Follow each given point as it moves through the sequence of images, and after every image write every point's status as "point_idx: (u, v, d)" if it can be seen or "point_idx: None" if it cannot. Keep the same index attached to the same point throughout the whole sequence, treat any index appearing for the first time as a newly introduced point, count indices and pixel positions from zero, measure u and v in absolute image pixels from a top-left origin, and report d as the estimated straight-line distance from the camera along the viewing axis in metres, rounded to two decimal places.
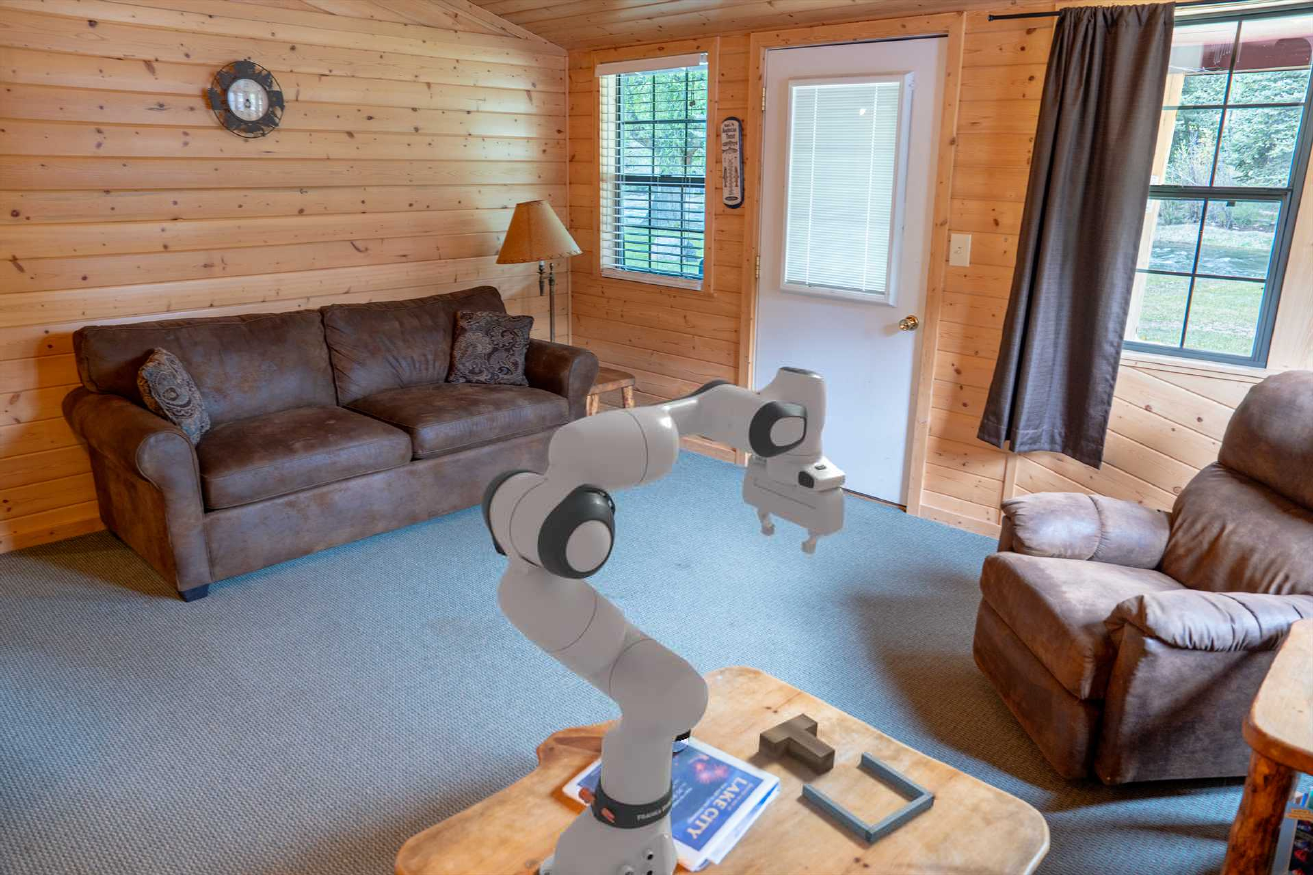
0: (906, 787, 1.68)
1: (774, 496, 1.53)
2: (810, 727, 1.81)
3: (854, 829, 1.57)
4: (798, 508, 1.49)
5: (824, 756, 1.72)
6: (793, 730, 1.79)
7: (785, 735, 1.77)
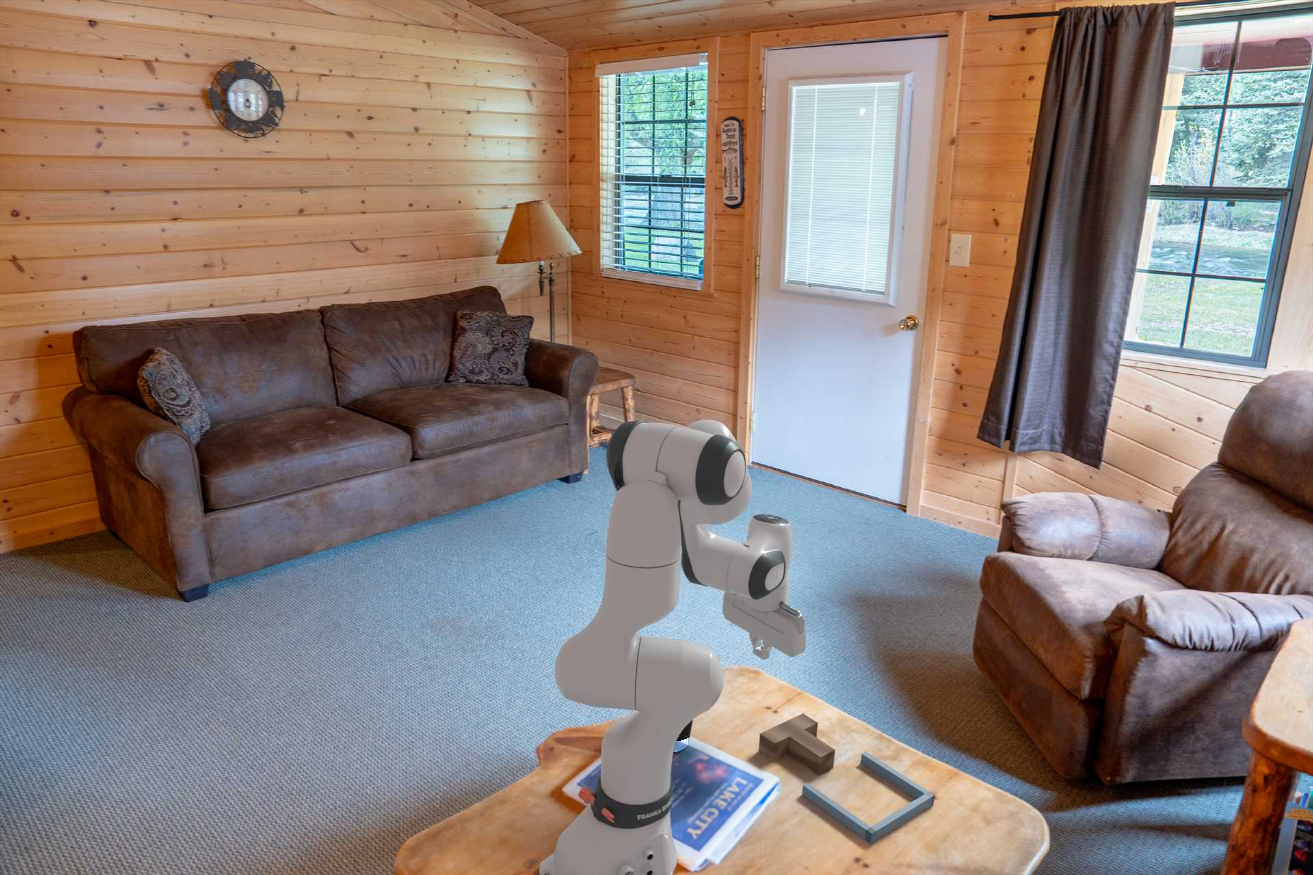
0: (906, 787, 1.68)
1: None
2: (810, 727, 1.81)
3: (854, 829, 1.57)
4: None
5: (824, 756, 1.72)
6: (793, 730, 1.79)
7: (785, 735, 1.77)
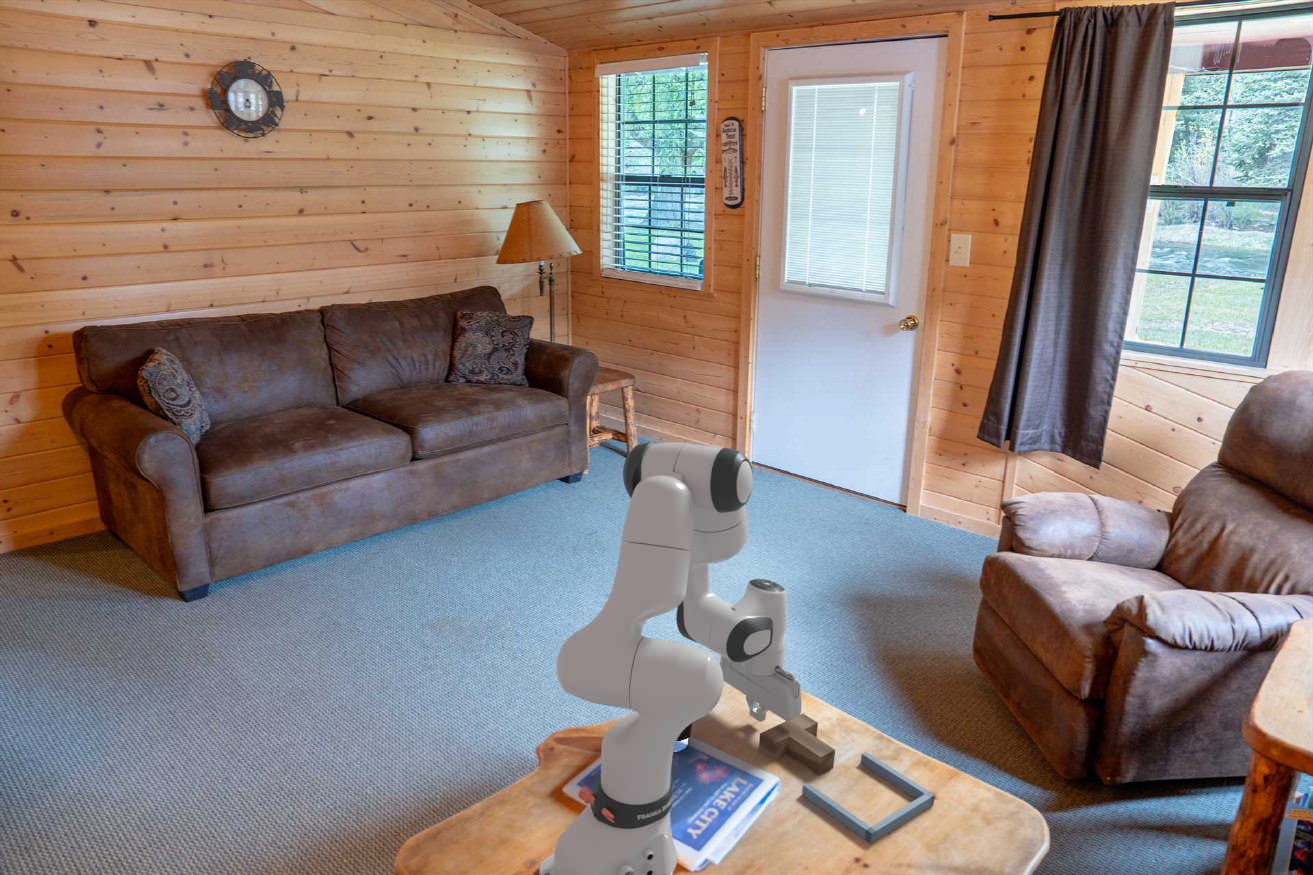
0: (906, 787, 1.68)
1: None
2: (810, 727, 1.81)
3: (854, 829, 1.57)
4: None
5: (824, 756, 1.72)
6: (793, 730, 1.79)
7: (785, 735, 1.77)
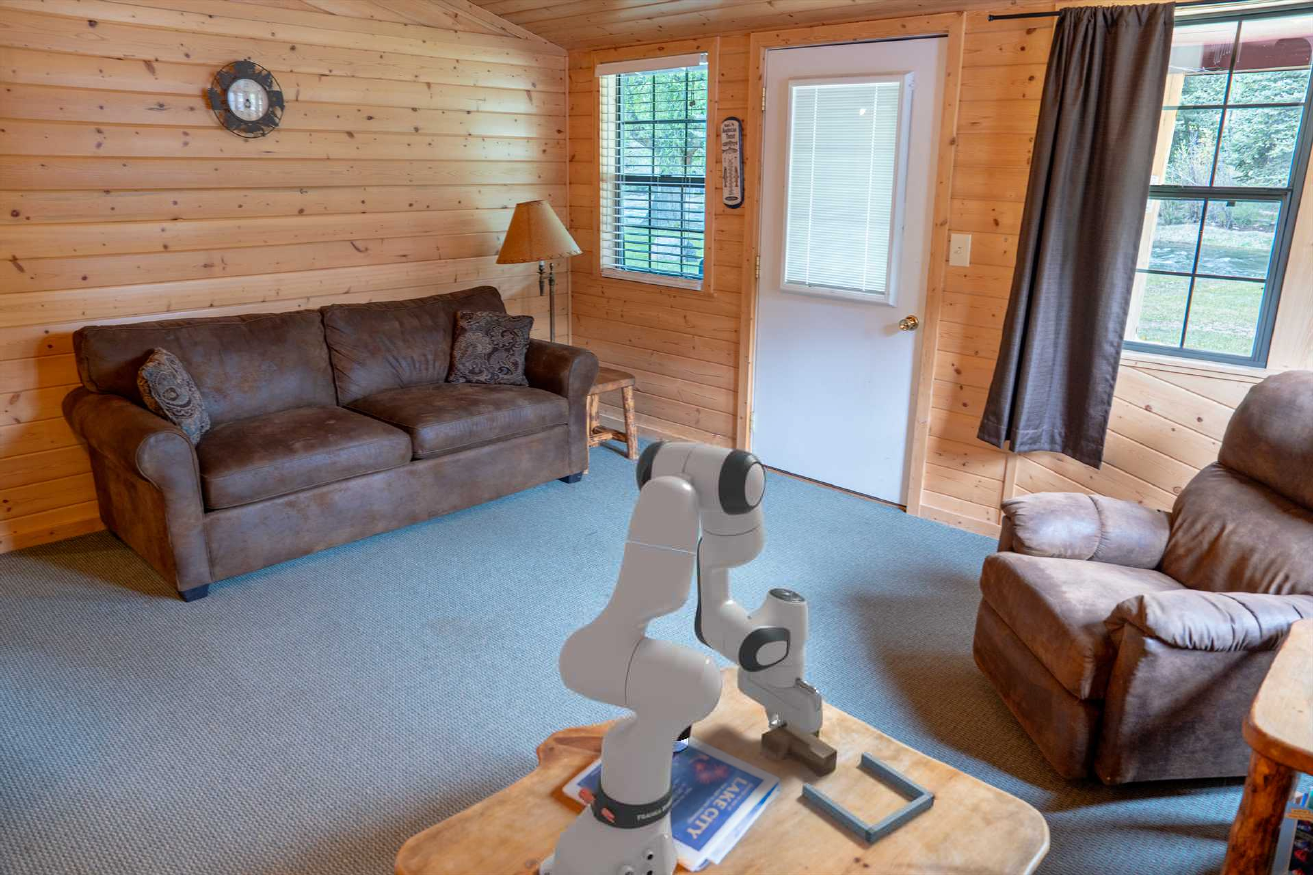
0: (906, 787, 1.68)
1: None
2: None
3: (854, 829, 1.57)
4: None
5: (826, 757, 1.71)
6: (795, 731, 1.79)
7: (787, 736, 1.77)
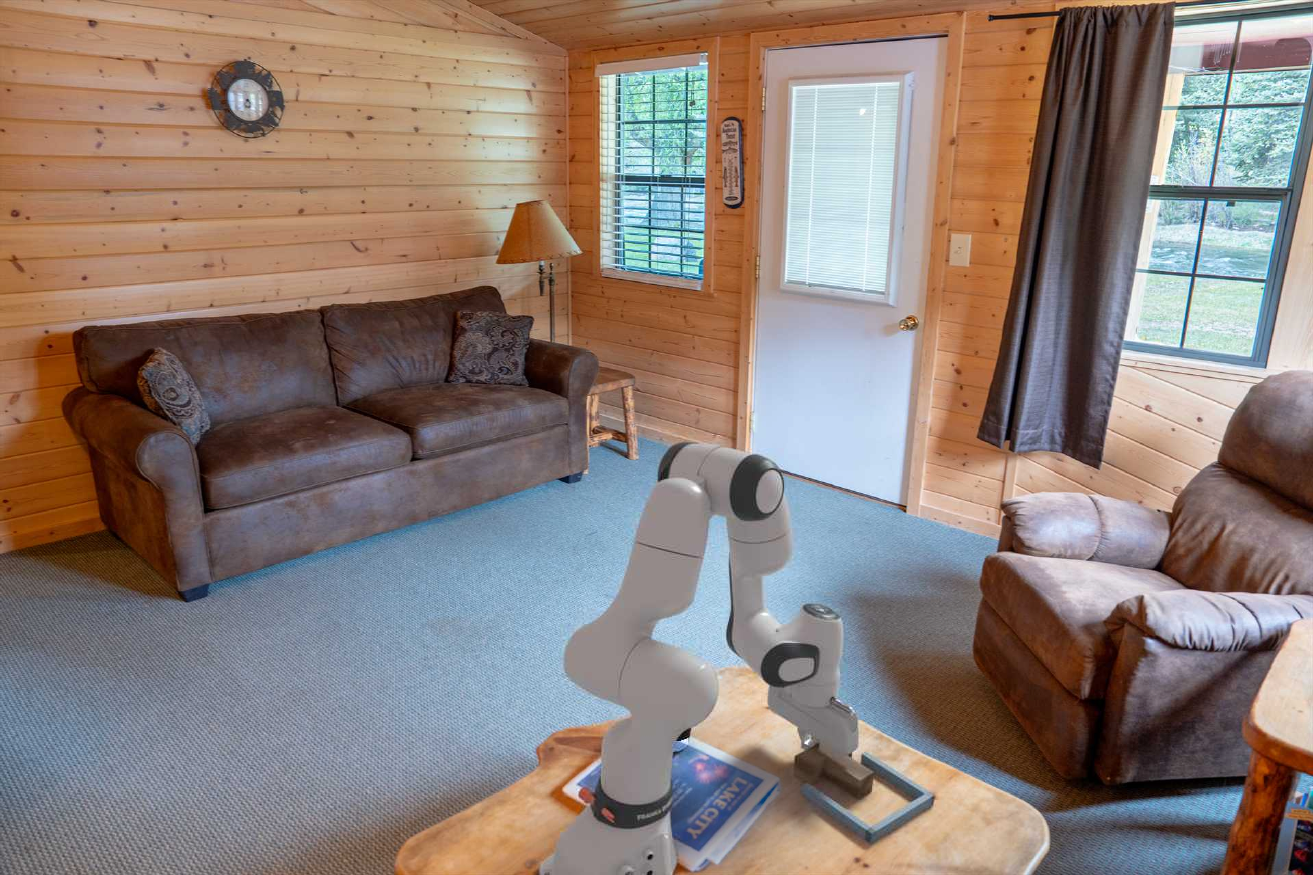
0: (906, 787, 1.68)
1: None
2: None
3: (854, 829, 1.57)
4: None
5: (863, 779, 1.65)
6: (829, 752, 1.73)
7: (821, 758, 1.71)
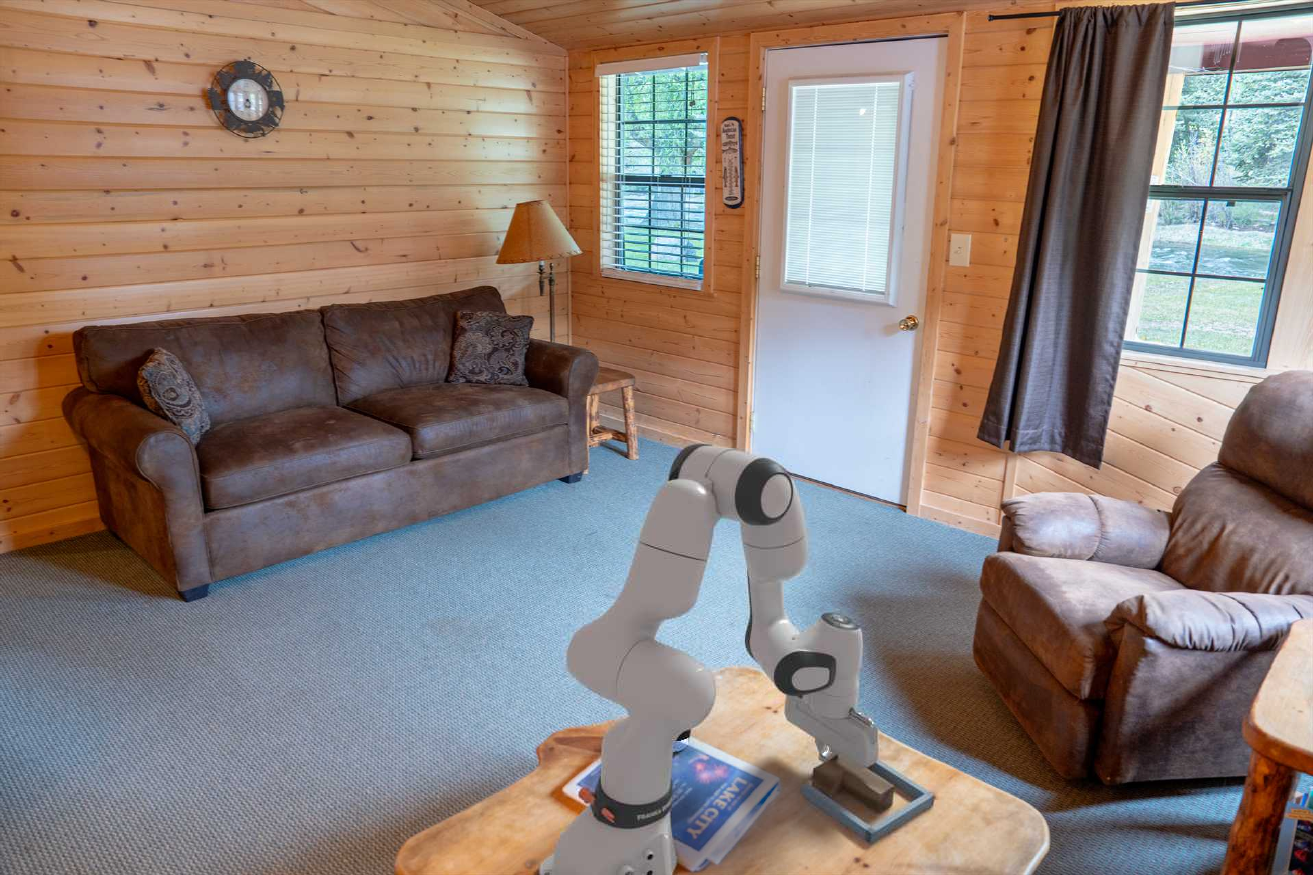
0: (906, 787, 1.68)
1: None
2: None
3: (854, 829, 1.57)
4: None
5: (883, 793, 1.62)
6: (848, 764, 1.69)
7: (840, 770, 1.67)
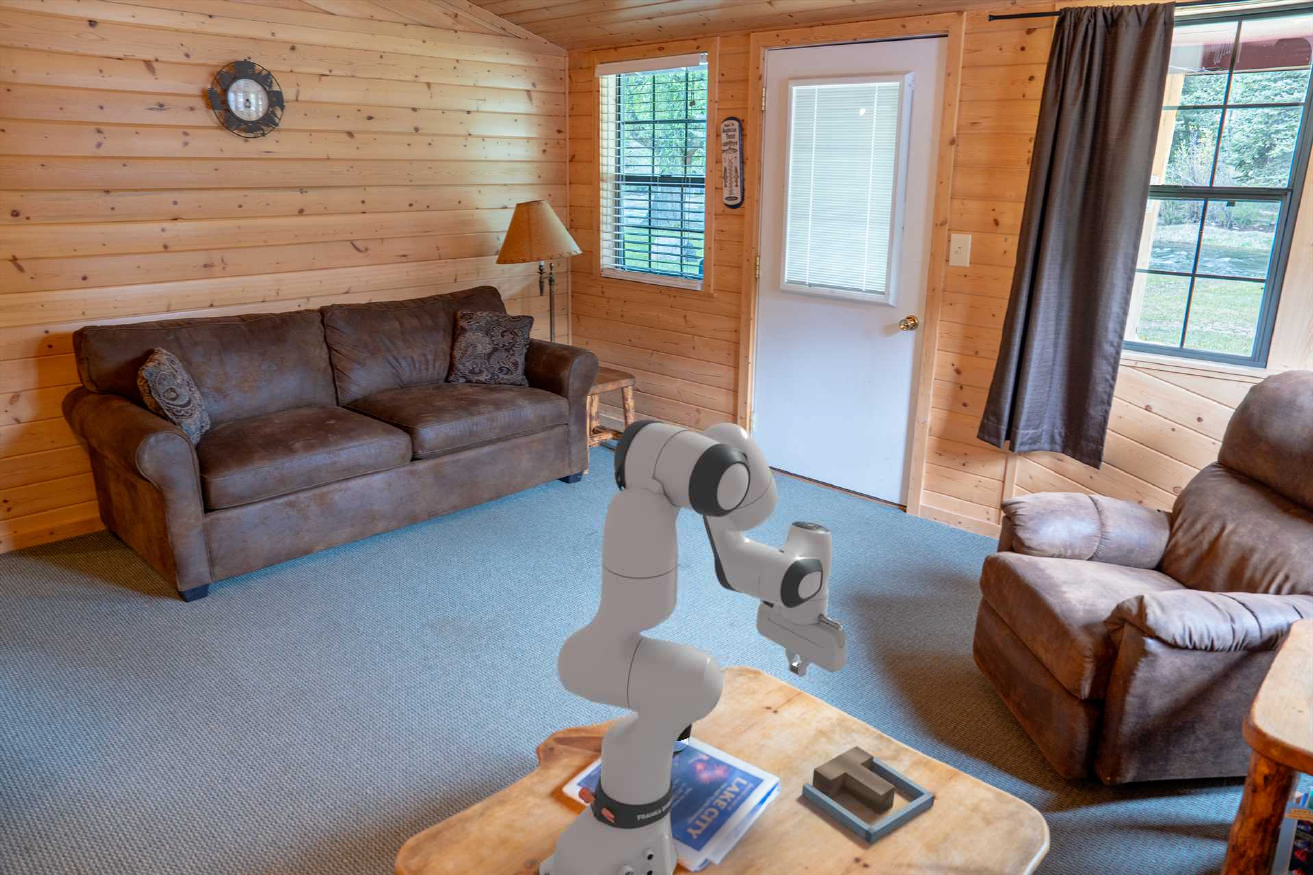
0: (906, 787, 1.68)
1: None
2: (866, 761, 1.71)
3: (854, 829, 1.57)
4: None
5: (884, 794, 1.62)
6: (849, 765, 1.69)
7: (840, 771, 1.67)
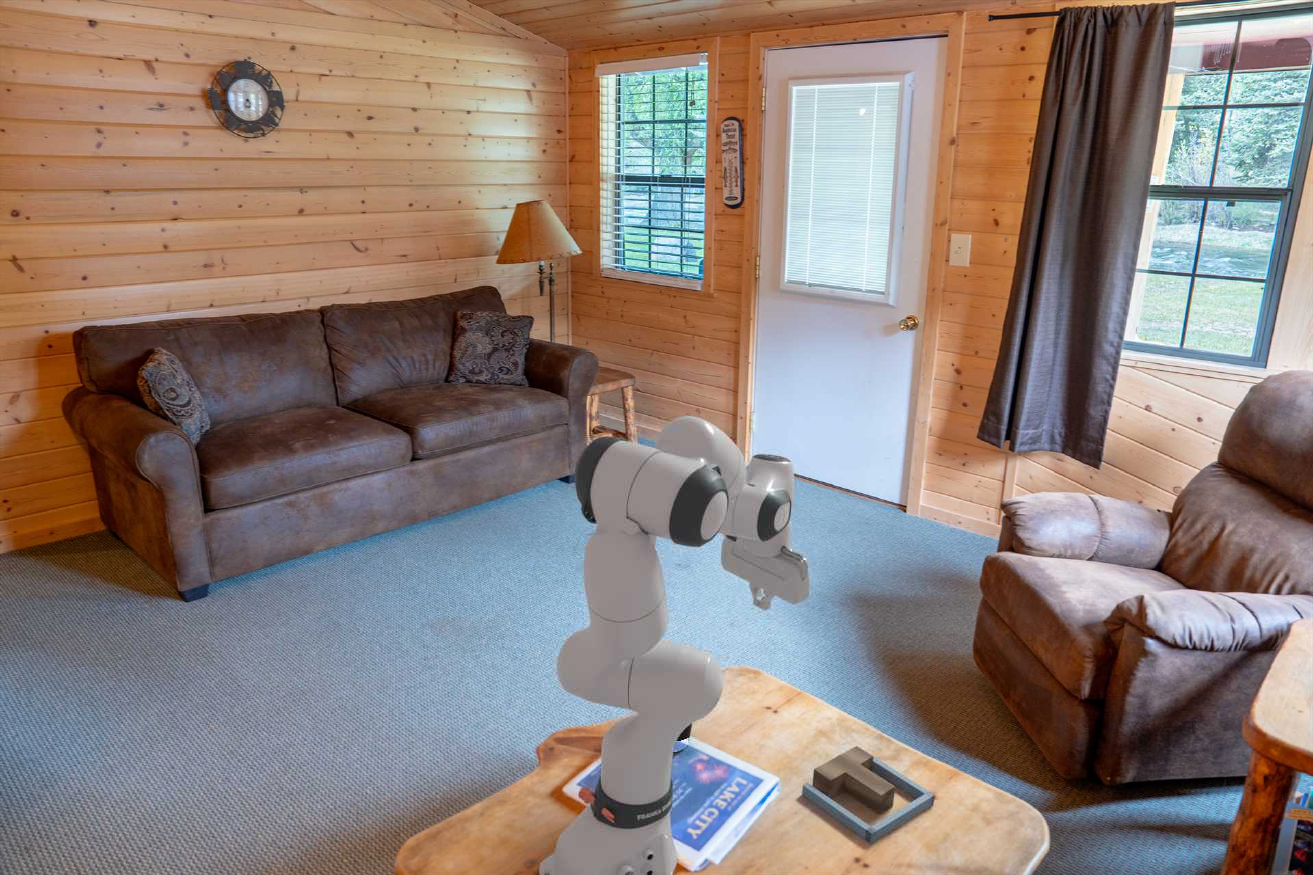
0: (906, 787, 1.68)
1: None
2: (866, 761, 1.71)
3: (854, 829, 1.57)
4: None
5: (884, 794, 1.62)
6: (849, 765, 1.69)
7: (840, 771, 1.67)
